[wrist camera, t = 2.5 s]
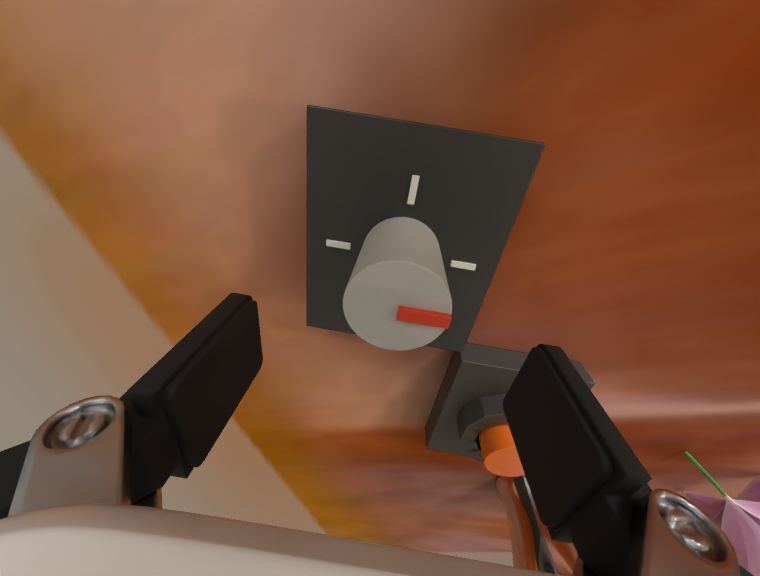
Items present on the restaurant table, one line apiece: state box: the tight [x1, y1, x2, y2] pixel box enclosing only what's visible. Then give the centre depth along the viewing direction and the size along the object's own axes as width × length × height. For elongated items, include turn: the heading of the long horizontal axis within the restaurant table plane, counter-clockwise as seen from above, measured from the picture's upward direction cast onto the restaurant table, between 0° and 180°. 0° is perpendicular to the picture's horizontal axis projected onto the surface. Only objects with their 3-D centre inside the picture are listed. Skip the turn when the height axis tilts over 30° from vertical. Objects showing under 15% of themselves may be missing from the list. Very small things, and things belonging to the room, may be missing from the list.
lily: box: [683, 451, 760, 576], centre depth 25 cm, size 12×12×10 cm
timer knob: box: [343, 217, 452, 351], centre depth 13 cm, size 4×4×6 cm
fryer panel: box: [307, 105, 545, 352], centre depth 17 cm, size 13×11×3 cm
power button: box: [479, 423, 525, 477], centre depth 22 cm, size 4×4×2 cm
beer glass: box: [495, 475, 577, 576], centre depth 26 cm, size 7×7×15 cm
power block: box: [425, 343, 595, 462], centre depth 24 cm, size 12×10×4 cm
